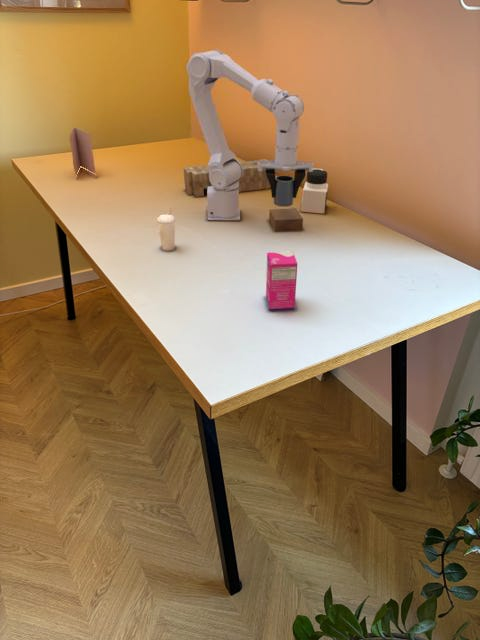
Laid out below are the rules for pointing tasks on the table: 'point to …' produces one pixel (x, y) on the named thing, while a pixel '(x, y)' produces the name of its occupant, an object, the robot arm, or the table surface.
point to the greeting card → (82, 152)
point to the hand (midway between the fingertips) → (283, 196)
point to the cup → (284, 190)
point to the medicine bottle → (315, 192)
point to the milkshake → (167, 231)
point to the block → (285, 220)
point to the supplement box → (281, 280)
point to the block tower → (250, 180)
